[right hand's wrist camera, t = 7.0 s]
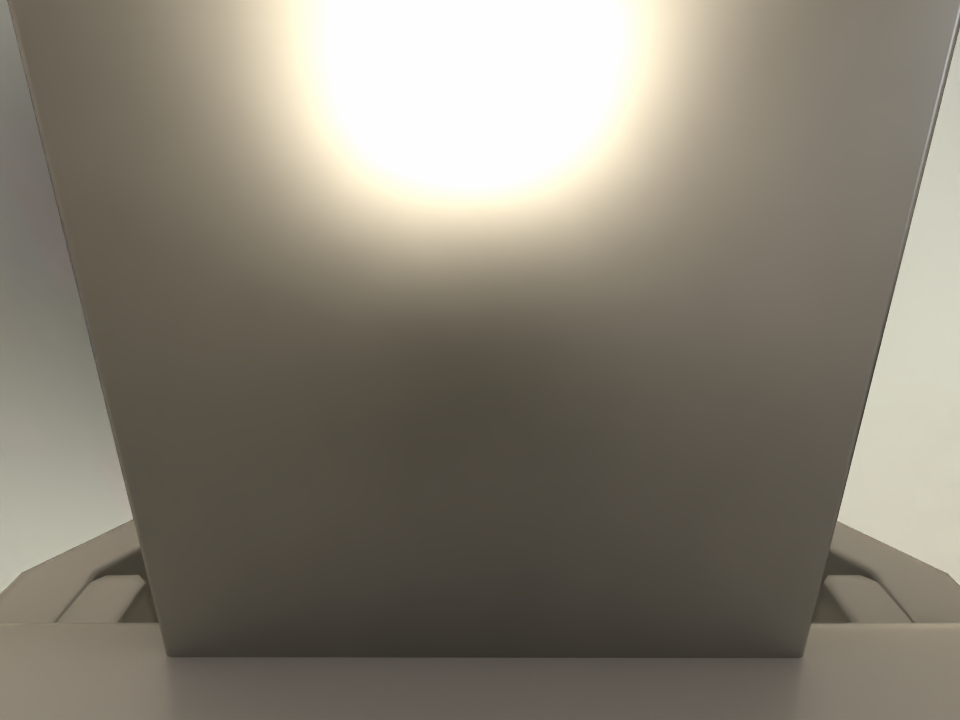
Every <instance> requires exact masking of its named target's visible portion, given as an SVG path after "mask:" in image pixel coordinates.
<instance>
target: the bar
mask: <svg viewBox="0 0 960 720" xmlns="http://www.w3.org/2000/svg"><path fill="white" fill-rule="evenodd" d="M7 1H8V5H9V9H10V13H11V18H12V22H13V26H14V30H15V34H16V38H17V42H18V46H19V50H20V55H21V59H22V63H23V67H24V71H25V75H26V79H27V83H28V87H29V92H30V96H31V100H32V104H33V108H34V112H35V116H36V120H37V124H38V129H39V133H40V137H41V141H42V145H43V149H44V153H45V157H46V161H47V166H48V170H49V174H50V178H51V182H52V186H53V190H54V194H55V199H56V203H57V207H58V211H59V215H60V219H61V223H62V227H63V231H64V236H65V240H66V244H67V248H68V252H69V256H70V260H71V264H72V268H73V273H74V277H75V281H76V285H77V289H78V293H79V297H80V301H81V305H82V310H83V314H84V318H85V322H86V326H87V330H88V334H89V338H90V343H91V347H92V351H93V355H94V359H95V363H96V367H97V371H98V375H99V380H100V384H101V388H102V392H103V396H104V400H105V404H106V408H107V412H108V417H109V421H110V425H111V429H112V433H113V437H114V441H115V445H116V449H117V454H118V458H119V462H120V466H121V470H122V474H123V478H124V482H125V487H126V491H127V495H128V499H129V503H130V507H131V511H132V515H133V519H134V524H135V528H136V532H137V536H138V540H139V544H140V548H141V552H142V556H143V561H144V565H145V569H146V573H147V577H148V581H149V585H150V589H151V593H152V598H153V602H154V606H155V610H156V614H157V618H158V622H159V626H160V630H161V635H162V639H163V643H164V647H165V651H166V655H167V656H169V657H345V658H801V657H803V654H804V650H805V646H806V642H807V638H808V634H809V630H810V626H811V622H812V618H813V614H814V610H815V606H816V602H817V598H818V594H819V590H820V586H821V582H822V578H823V574H824V570H825V566H826V562H827V558H828V554H829V550H830V546H831V542H832V538H833V534H834V530H835V526H836V522H837V518H838V514H839V510H840V506H841V502H842V498H843V494H844V490H845V486H846V482H847V478H848V474H849V470H850V466H851V462H852V458H853V454H854V450H855V446H856V442H857V437H858V433H859V429H860V425H861V421H862V417H863V413H864V409H865V405H866V401H867V397H868V393H869V389H870V385H871V381H872V377H873V373H874V369H875V365H876V361H877V357H878V353H879V349H880V345H881V341H882V337H883V333H884V329H885V325H886V321H887V317H888V313H889V309H890V305H891V301H892V297H893V293H894V289H895V285H896V281H897V277H898V273H899V269H900V265H901V261H902V257H903V253H904V249H905V245H906V241H907V237H908V233H909V229H910V225H911V221H912V217H913V213H914V209H915V205H916V201H917V197H918V193H919V189H920V185H921V181H922V177H923V173H924V169H925V165H926V161H927V157H928V153H929V149H930V144H931V140H932V136H933V132H934V128H935V124H936V120H937V116H938V112H939V108H940V104H941V100H942V96H943V92H944V88H945V84H946V80H947V76H948V72H949V68H950V64H951V60H952V56H953V52H954V48H955V44H956V40H957V36H958V32H959V28H960V0H7Z"/></svg>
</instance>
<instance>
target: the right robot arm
mask: <svg viewBox="0 0 960 720" xmlns="http://www.w3.org/2000/svg"><path fill="white" fill-rule="evenodd" d="M0 720H960V585H959V584H958V583H957V582H956V581H954V580H953V579H952V578H951V577H950V576H949V575H948V574H947V573H945V572H943V571H941V570H939V569H937V568H935V567H933V566H931V565H928V564H926V563H924V562H922V561H920V560H918V559H916V558H914V557H912V556H910V555H907V554H905V553H903V552H901V551H899V550H897V549H895V548H893V547H891V546H889V545H886V544H884V543H882V542H880V541H878V540H876V539H874V538H872V537H870V536H868V535H865V534H863V533H861V532H859V531H857V530H855V529H853V528H851V527H849V526H847V525H844V524H842V523H840V522H838V521H837V522H836V526H835V530H834V534H833V538H832V542H831V546H830V550H829V554H828V558H827V562H826V566H825V570H824V574H823V578H822V582H821V586H820V590H819V594H818V598H817V602H816V606H815V610H814V614H813V618H812V622H811V626H810V630H809V634H808V638H807V642H806V646H805V650H804V654H803V657H801V658H345V657H169V656H167V655H166V651H165V647H164V643H163V639H162V635H161V630H160V626H159V622H158V618H157V614H156V610H155V606H154V602H153V598H152V593H151V589H150V585H149V581H148V577H147V573H146V569H145V565H144V561H143V556H142V552H141V548H140V544H139V540H138V536H137V532H136V528H135V524H134V519H133V520H131V521H129V522H127V523H125V524H123V525H120V526H118V527H116V528H114V529H112V530H110V531H108V532H106V533H104V534H102V535H100V536H98V537H95V538H93V539H91V540H89V541H87V542H85V543H83V544H81V545H79V546H77V547H75V548H73V549H70V550H68V551H66V552H64V553H62V554H60V555H58V556H56V557H54V558H52V559H50V560H47V561H45V562H43V563H41V564H39V565H37V566H35V567H33V568H31V569H29V570H27V571H25V572H22V573H21V574H20V575H19V576H18V577H17V578H16V579H15V580H14V581H13V582H12V583H11V584H10V585H9V586H8V587H7V588H6V589H5V590H4V591H3V592H2V593H1V594H0Z"/></svg>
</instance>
